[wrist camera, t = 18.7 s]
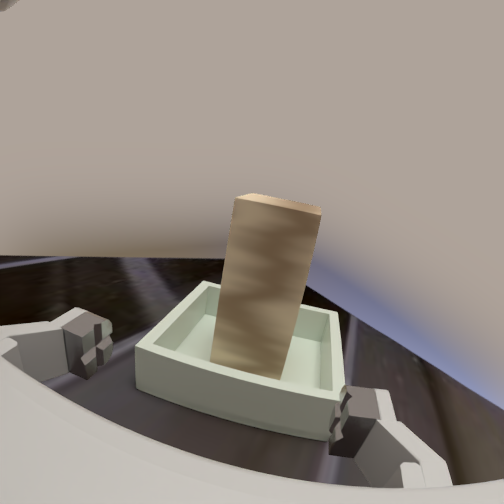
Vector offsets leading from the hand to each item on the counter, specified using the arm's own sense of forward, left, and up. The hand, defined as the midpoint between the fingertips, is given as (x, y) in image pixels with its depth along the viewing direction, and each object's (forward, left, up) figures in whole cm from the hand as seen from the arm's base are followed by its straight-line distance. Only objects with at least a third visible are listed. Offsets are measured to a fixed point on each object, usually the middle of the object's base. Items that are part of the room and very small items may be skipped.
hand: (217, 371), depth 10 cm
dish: (0, +12, -8) cm, 15 cm away
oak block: (0, +12, -8) cm, 14 cm away
